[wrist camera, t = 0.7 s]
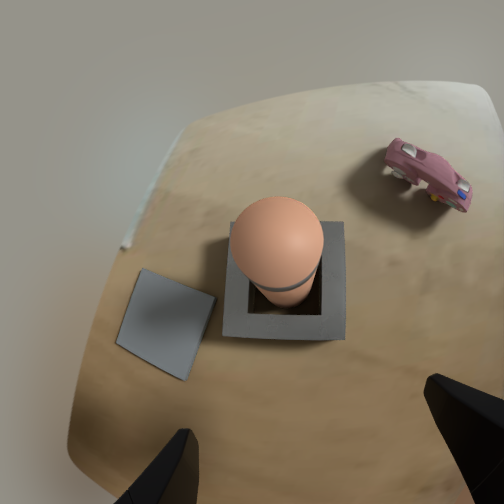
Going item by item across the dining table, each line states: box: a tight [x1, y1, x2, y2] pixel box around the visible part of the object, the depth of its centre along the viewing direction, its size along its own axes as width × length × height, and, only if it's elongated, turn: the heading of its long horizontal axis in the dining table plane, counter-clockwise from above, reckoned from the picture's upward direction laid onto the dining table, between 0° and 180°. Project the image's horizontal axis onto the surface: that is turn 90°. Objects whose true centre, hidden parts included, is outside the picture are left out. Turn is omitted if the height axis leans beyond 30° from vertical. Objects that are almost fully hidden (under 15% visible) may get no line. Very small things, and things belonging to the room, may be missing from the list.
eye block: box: [222, 221, 346, 340], centre depth 22 cm, size 9×9×3 cm
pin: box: [230, 197, 324, 308], centre depth 17 cm, size 4×4×12 cm
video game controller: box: [384, 138, 472, 212], centre depth 21 cm, size 10×5×7 cm, turn 56°
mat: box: [116, 268, 217, 381], centre depth 23 cm, size 8×8×1 cm
